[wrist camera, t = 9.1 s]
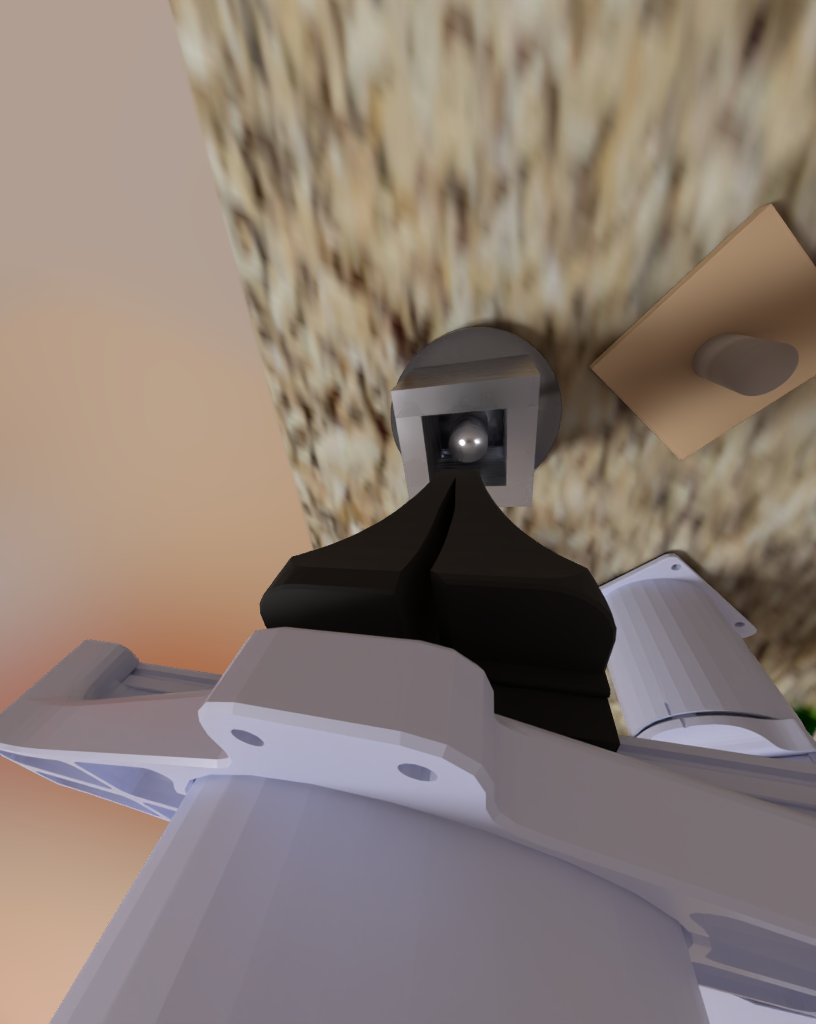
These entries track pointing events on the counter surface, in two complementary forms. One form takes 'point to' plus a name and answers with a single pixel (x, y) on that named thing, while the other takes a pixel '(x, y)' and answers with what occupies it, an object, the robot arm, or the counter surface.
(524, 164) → the counter surface
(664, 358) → the stand
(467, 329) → the hub
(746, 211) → the counter surface
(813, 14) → the counter surface
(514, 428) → the square metal tube
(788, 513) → the counter surface
